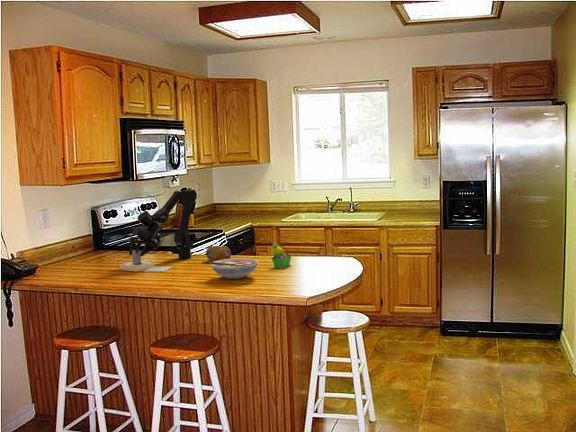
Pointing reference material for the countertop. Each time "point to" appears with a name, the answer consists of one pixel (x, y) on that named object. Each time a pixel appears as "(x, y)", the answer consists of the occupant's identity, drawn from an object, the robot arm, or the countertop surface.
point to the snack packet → (218, 253)
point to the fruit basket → (280, 257)
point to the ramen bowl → (233, 267)
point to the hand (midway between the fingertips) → (135, 255)
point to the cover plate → (136, 266)
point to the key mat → (158, 269)
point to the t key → (136, 257)
